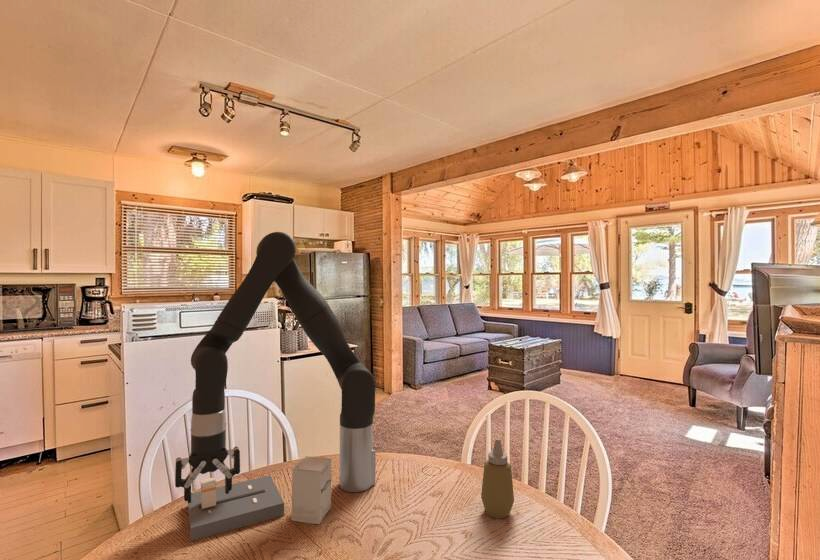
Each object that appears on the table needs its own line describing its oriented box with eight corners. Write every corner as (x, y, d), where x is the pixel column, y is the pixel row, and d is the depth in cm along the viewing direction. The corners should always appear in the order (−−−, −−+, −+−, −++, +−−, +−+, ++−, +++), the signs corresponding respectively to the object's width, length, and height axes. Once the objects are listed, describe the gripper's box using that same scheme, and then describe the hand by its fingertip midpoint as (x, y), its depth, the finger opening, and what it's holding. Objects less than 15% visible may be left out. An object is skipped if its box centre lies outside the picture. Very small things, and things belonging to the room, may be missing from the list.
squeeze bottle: (520, 511, 101) (520, 439, 101) (503, 526, 95) (504, 449, 95) (491, 499, 106) (492, 431, 106) (474, 512, 101) (475, 439, 101)
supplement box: (319, 525, 95) (320, 471, 95) (290, 521, 97) (291, 468, 96) (332, 507, 102) (332, 457, 102) (304, 504, 104) (305, 454, 104)
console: (270, 485, 113) (270, 474, 113) (284, 515, 99) (284, 501, 99) (188, 506, 103) (188, 493, 103) (190, 541, 89) (190, 527, 89)
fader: (214, 497, 100) (214, 477, 100) (216, 505, 97) (216, 484, 97) (200, 500, 99) (200, 480, 99) (201, 509, 95) (201, 487, 95)
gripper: (238, 419, 104) (238, 482, 105) (174, 429, 97) (173, 497, 97) (242, 428, 98) (242, 496, 98) (174, 440, 91) (174, 513, 91)
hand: (208, 496), depth 98 cm, fingers open, 7 cm apart
